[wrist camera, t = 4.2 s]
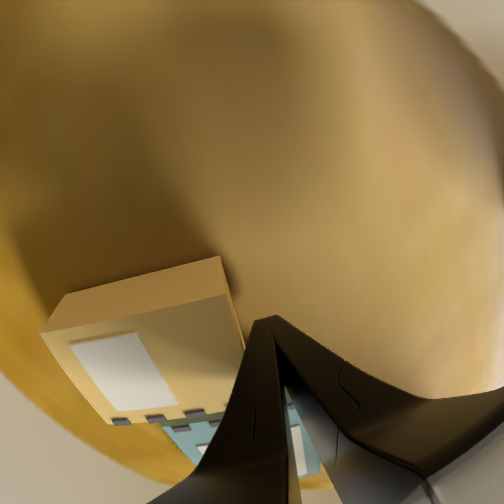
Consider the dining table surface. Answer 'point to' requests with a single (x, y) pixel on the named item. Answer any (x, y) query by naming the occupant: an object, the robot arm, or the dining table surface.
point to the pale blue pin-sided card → (203, 428)
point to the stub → (151, 344)
